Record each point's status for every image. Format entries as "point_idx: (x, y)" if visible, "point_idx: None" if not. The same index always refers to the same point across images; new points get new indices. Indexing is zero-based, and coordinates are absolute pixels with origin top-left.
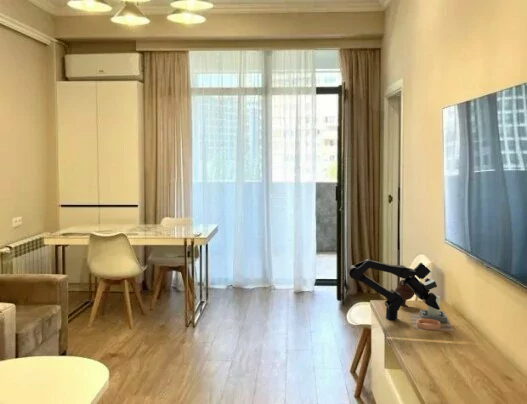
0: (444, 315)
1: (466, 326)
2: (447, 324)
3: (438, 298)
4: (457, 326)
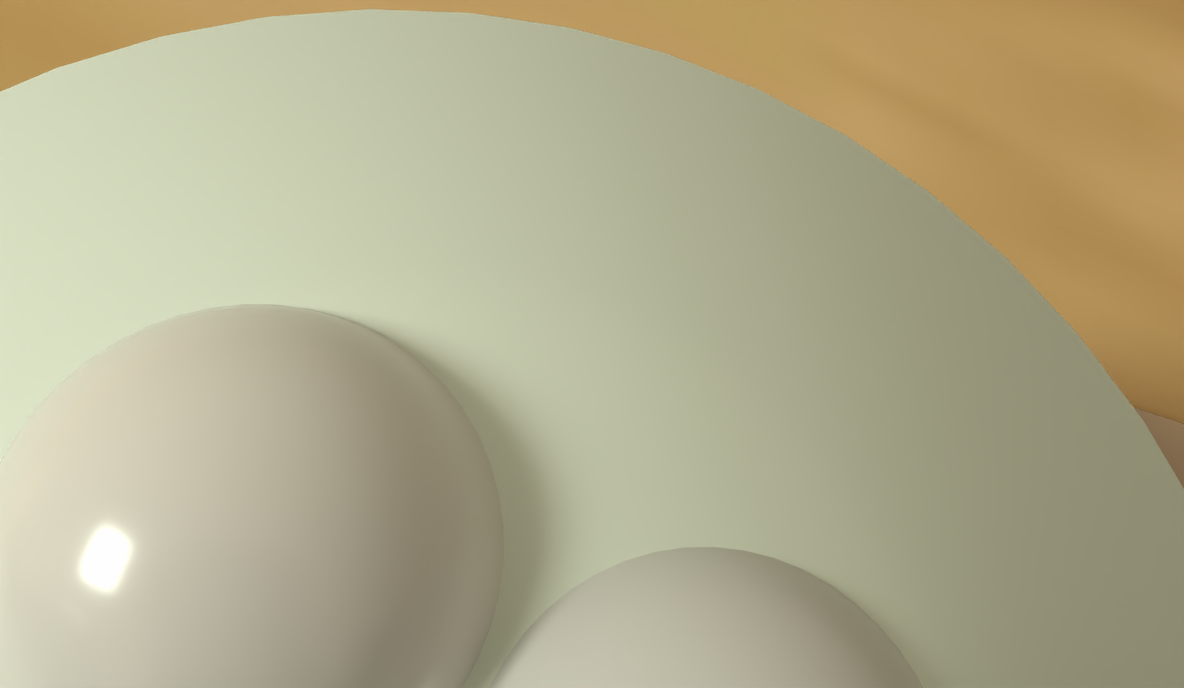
0: None
1: (1066, 5)
2: None
3: (1138, 511)
4: (1083, 229)
